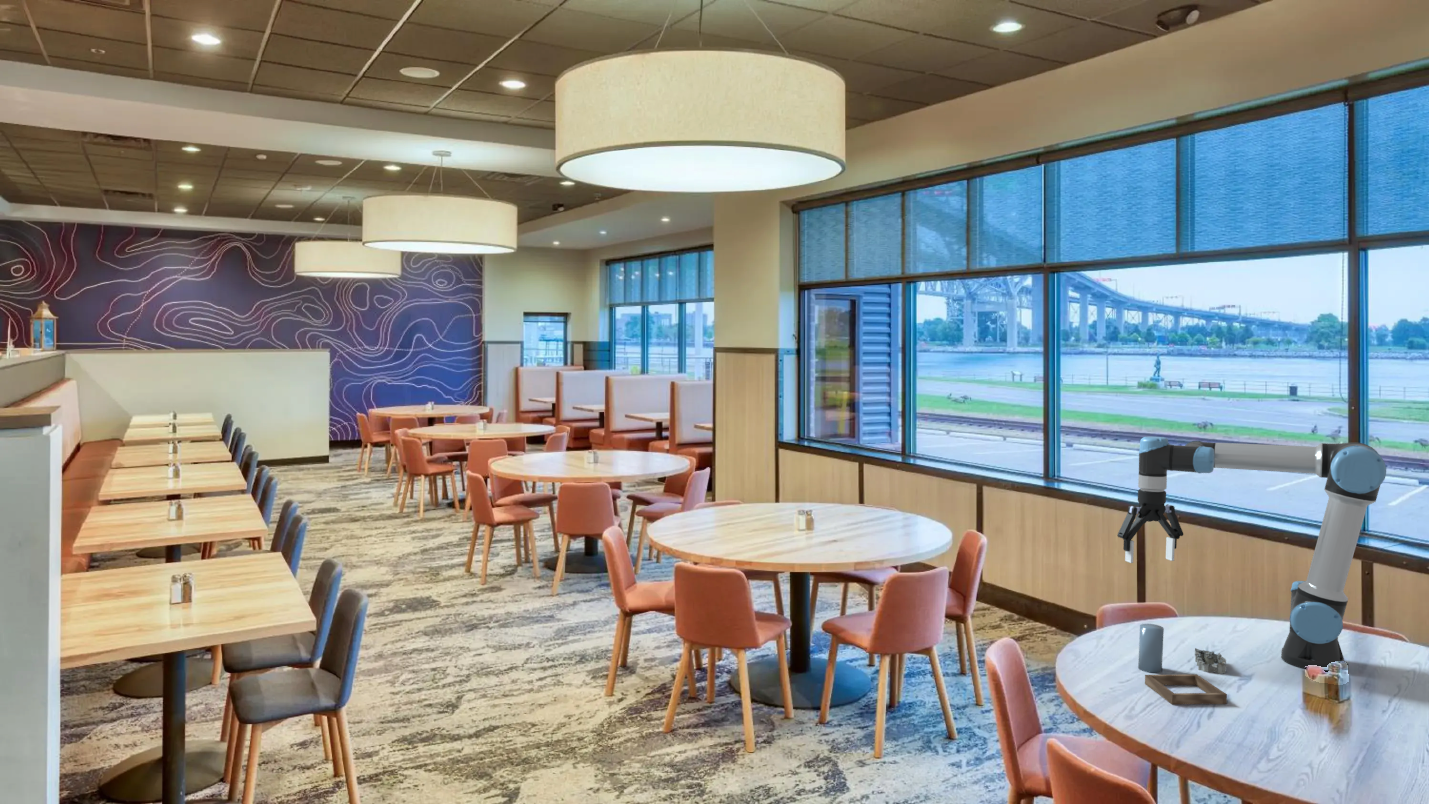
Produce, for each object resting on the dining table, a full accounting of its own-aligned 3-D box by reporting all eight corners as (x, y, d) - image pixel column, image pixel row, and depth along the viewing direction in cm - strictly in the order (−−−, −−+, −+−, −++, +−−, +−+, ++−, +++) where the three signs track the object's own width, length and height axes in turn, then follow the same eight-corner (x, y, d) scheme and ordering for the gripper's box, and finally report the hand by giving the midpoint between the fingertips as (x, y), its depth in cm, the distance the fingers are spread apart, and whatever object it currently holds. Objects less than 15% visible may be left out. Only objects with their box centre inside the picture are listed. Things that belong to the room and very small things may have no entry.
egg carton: (1226, 676, 256) (1227, 661, 256) (1196, 672, 259) (1196, 657, 259) (1223, 663, 266) (1223, 649, 266) (1193, 659, 269) (1194, 645, 269)
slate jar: (1155, 665, 264) (1156, 623, 263) (1166, 672, 258) (1167, 630, 257) (1134, 665, 264) (1135, 623, 263) (1144, 672, 258) (1146, 630, 257)
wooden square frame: (1196, 683, 250) (1196, 674, 250) (1226, 703, 236) (1226, 694, 236) (1144, 683, 249) (1145, 674, 249) (1172, 704, 235) (1172, 694, 235)
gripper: (1180, 486, 280) (1177, 555, 281) (1106, 488, 275) (1103, 559, 276) (1198, 490, 272) (1195, 561, 274) (1122, 492, 267) (1119, 565, 269)
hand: (1149, 561), depth 275 cm, fingers open, 13 cm apart
